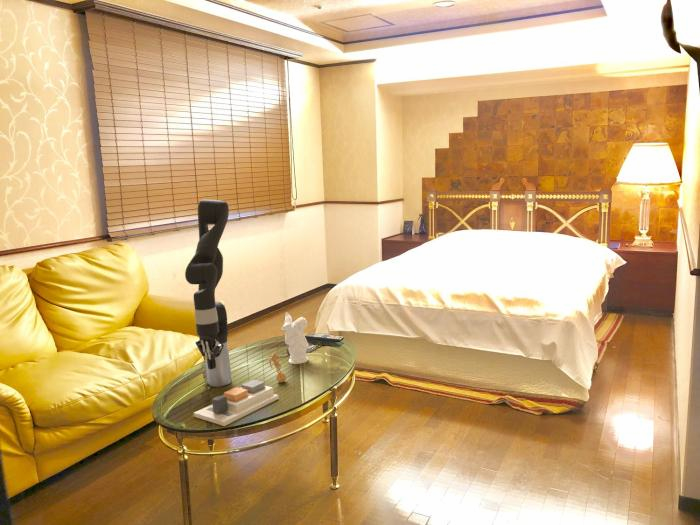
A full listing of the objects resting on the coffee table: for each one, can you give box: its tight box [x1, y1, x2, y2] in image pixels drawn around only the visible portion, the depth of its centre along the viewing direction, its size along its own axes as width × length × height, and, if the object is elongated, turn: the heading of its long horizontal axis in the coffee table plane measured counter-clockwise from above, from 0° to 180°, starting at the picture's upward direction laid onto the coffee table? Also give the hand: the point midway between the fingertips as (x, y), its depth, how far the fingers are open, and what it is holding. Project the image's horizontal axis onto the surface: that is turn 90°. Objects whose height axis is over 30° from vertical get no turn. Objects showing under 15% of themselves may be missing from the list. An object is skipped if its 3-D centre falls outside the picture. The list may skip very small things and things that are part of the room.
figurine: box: [268, 352, 287, 384], centre depth 229 cm, size 8×6×12 cm
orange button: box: [223, 386, 248, 402], centre depth 206 cm, size 6×6×3 cm
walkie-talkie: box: [286, 342, 320, 356], centre depth 270 cm, size 9×4×20 cm
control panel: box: [193, 385, 279, 427], centre depth 207 cm, size 16×26×4 cm, turn 143°
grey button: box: [241, 379, 266, 394], centre depth 213 cm, size 6×6×3 cm
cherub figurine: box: [280, 311, 309, 365], centre depth 251 cm, size 12×12×22 cm
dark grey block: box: [211, 394, 228, 414], centre depth 200 cm, size 3×4×5 cm
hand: (212, 368), depth 200 cm, fingers closed
